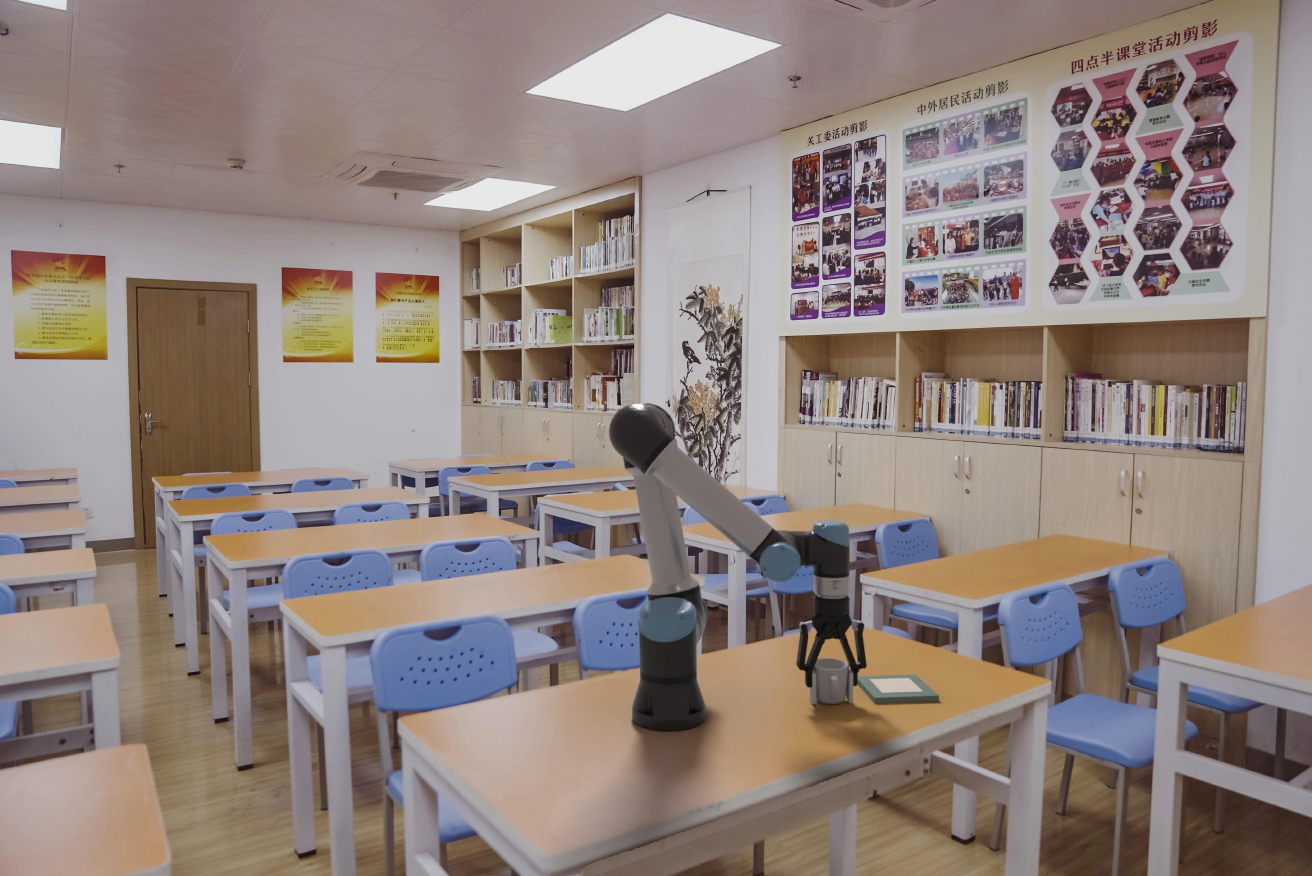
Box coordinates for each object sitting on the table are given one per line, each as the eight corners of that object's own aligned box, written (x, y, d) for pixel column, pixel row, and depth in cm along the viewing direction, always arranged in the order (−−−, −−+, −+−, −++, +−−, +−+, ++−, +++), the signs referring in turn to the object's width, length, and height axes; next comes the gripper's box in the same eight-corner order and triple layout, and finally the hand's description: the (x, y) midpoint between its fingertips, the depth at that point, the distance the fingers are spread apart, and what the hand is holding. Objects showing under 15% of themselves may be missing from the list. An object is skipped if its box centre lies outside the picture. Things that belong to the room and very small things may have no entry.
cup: (855, 711, 177) (855, 673, 176) (816, 712, 177) (816, 674, 177) (845, 693, 188) (844, 657, 187) (808, 693, 188) (808, 657, 187)
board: (874, 703, 182) (874, 697, 182) (855, 681, 196) (855, 675, 196) (939, 700, 183) (939, 694, 182) (915, 679, 197) (915, 673, 196)
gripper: (788, 599, 177) (788, 708, 178) (883, 597, 178) (883, 706, 179) (780, 591, 184) (781, 696, 185) (872, 589, 186) (872, 693, 187)
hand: (831, 700), depth 182 cm, fingers closed on cup, 7 cm apart
